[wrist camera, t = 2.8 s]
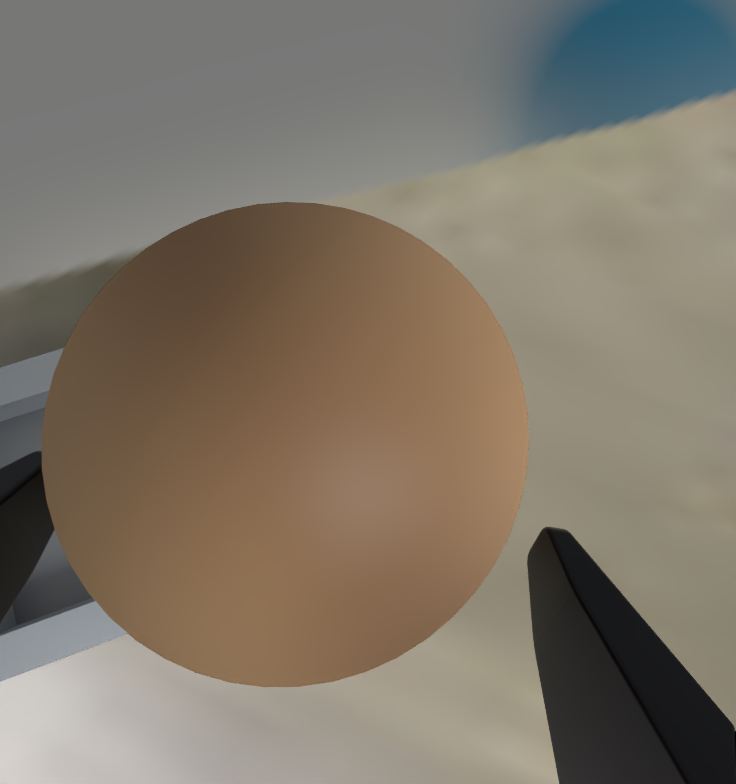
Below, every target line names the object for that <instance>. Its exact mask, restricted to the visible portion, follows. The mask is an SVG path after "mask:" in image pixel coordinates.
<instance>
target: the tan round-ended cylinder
mask: <svg viewBox="0 0 736 784" xmlns="http://www.w3.org/2000/svg"><path fill="white" fill-rule="evenodd" d="M528 450H529V433H528V412H527V407H526V401H525V395H524V389H523V383H522V380H521V377H520V374H519V370H518V367H517V364H516V361H515V357H514V354H513V352H512V350H511V348H510V345H509V343H508V341H507V339H506V337H505V334H504V332H503V330H502V328H501V326H500V324H499V323H498V321H497V320H496V318H495V316H494V315H493V313H492V311H491V310H490V308H489V306H488V305H487V303H486V302H485V301H484V299H483V298H482V297H481V296H480V294H479V293H478V292H477V291H476V289H475V288H474V287H473V286H472V284H471V283H470V282H469V281H468V279H467V278H466V277H464V276H463V275H462V274H461V273H460V272H459V271H458V270H457V269H456V268H455V267H454V266H453V265H452V264H451V263H450V262H449V261H448V260H447V259H446V258H444V257H443V256H442V255H440V254H439V253H438V252H436V251H435V250H434V249H432V248H431V247H430V246H429V245H427V244H426V243H425V242H423V241H421V240H420V239H418V238H416V237H414V236H413V235H411V234H409V233H407V232H406V231H404V230H402V229H401V228H399V227H397V226H394V225H392V224H389V223H387V222H385V221H382V220H380V219H378V218H375V217H373V216H370V215H367V214H363V213H360V212H356V211H353V210H349V209H346V208H341V207H335V206H329V205H323V204H316V203H295V202H282V203H269V204H257V205H252V206H247V207H242V208H237V209H232V210H227V211H224V212H221V213H219V214H215V215H212V216H209V217H206V218H203V219H200V220H198V221H195V222H193V223H191V224H189V225H187V226H185V227H183V228H180V229H178V230H177V231H174V232H172V233H170V234H169V235H167V236H166V237H164V238H162V239H161V240H159V241H158V242H156V243H154V244H153V245H151V246H150V247H148V248H146V249H145V250H144V251H143V252H141V253H140V254H139V255H138V256H136V257H135V258H134V259H133V260H131V261H130V262H129V263H128V264H127V265H125V266H124V267H123V268H122V269H121V270H120V271H119V272H118V273H117V274H116V275H115V276H114V277H113V278H112V279H111V280H110V281H109V282H108V283H107V284H106V285H105V286H104V287H103V288H102V289H101V290H100V292H99V293H98V294H97V296H96V297H95V298H94V300H93V301H92V302H91V304H90V305H89V306H88V308H87V309H86V311H85V312H84V313H83V315H82V316H81V318H80V319H79V321H78V323H77V325H76V326H75V328H74V330H73V332H72V334H71V335H70V337H69V339H68V341H67V342H66V344H65V347H64V349H63V352H62V354H61V357H60V359H59V361H58V364H57V366H56V369H55V371H54V374H53V378H52V382H51V386H50V389H49V393H48V397H47V401H46V405H45V413H44V421H43V429H42V474H43V480H44V487H45V494H46V501H47V505H48V508H49V511H50V515H51V518H52V522H53V525H54V528H55V532H56V535H57V537H58V539H59V541H60V543H61V546H62V548H63V550H64V552H65V554H66V557H67V559H68V561H69V563H70V565H71V567H72V568H73V570H74V571H75V573H76V574H77V576H78V578H79V579H80V581H81V582H82V584H83V585H84V587H85V588H86V590H87V592H88V593H89V594H90V595H91V596H92V598H93V599H94V600H95V601H96V602H97V603H98V604H99V606H100V607H101V608H102V609H103V610H104V611H105V613H106V614H107V615H108V616H109V617H110V618H111V619H112V620H113V621H114V622H115V623H117V624H118V625H119V626H120V627H121V628H122V629H124V630H125V631H126V632H127V633H128V634H129V635H130V636H132V637H133V638H134V639H135V640H136V641H138V642H139V643H141V644H143V645H144V646H146V647H147V648H149V649H151V650H152V651H154V652H155V653H157V654H158V655H160V656H162V657H163V658H165V659H167V660H169V661H171V662H173V663H176V664H178V665H180V666H182V667H185V668H187V669H189V670H191V671H194V672H196V673H199V674H202V675H206V676H209V677H213V678H216V679H220V680H223V681H227V682H231V683H239V684H246V685H254V686H261V687H299V686H306V685H313V684H319V683H326V682H333V681H336V680H340V679H343V678H346V677H350V676H353V675H356V674H360V673H363V672H366V671H369V670H371V669H373V668H375V667H377V666H380V665H382V664H384V663H386V662H388V661H391V660H393V659H395V658H397V657H399V656H400V655H402V654H404V653H405V652H407V651H408V650H410V649H412V648H413V647H415V646H416V645H418V644H419V643H421V642H423V641H424V640H426V639H427V638H428V637H430V636H431V635H432V634H433V633H434V632H436V631H437V630H438V629H439V628H440V627H441V626H443V625H444V624H445V623H446V622H447V621H449V620H450V619H451V618H452V617H453V616H454V615H455V614H456V613H457V612H458V611H459V610H460V608H461V607H462V606H463V605H464V604H465V603H466V602H467V601H468V600H469V599H470V597H471V596H472V595H473V594H474V593H475V592H476V590H477V589H478V587H479V586H480V585H481V583H482V582H483V580H484V579H485V577H486V576H487V575H488V573H489V572H490V570H491V569H492V567H493V566H494V564H495V562H496V560H497V558H498V556H499V554H500V552H501V550H502V549H503V547H504V545H505V543H506V541H507V539H508V537H509V534H510V531H511V529H512V526H513V523H514V520H515V518H516V515H517V512H518V509H519V506H520V502H521V497H522V493H523V488H524V484H525V479H526V473H527V461H528Z"/></svg>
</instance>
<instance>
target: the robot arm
mask: <svg viewBox="0 0 736 784" xmlns="http://www.w3.org/2000/svg"><path fill="white" fill-rule="evenodd" d="M54 530H55V528H54V525H53V522H52V518H51V515H50V511H49V508H48V505H47V501H46V494H45V487H44V480H43V474H42V451H41V450H40V451H34V452H32V453H30V454H28V455H26V456H24V457H22V458H20V459H18V460H16V461H14V462H12V463H10V464H8V465H6V466H4V467H2V468H0V624H1V622H2V620H3V619H4V617H5V616H6V614H7V613H8V611H9V609H10V608H11V606H12V605H13V603H14V602H15V600H16V598H17V597H18V595H19V594H20V592H21V591H22V589H23V587H24V586H25V584H26V583H27V581H28V579H29V578H30V576H31V574H32V573H33V571H34V569H35V567H36V565H37V563H38V562H39V560H40V558H41V556H42V554H43V552H44V550H45V548H46V546H47V544H48V542H49V540H50V538H51V536H52V534H53V532H54ZM527 566H528V579H529V592H530V605H531V618H532V631H533V640H534V648H535V654H536V660H537V666H538V671H539V676H540V682H541V687H542V693H543V698H544V703H545V709H546V714H547V720H548V725H549V730H550V736H551V741H552V746H553V752H554V757H555V763H556V768H557V773H558V779H559V784H736V731H735V728H734V725H733V724H732V723H731V722H730V721H729V719H728V718H727V717H726V716H725V715H724V713H723V712H722V711H721V710H720V709H719V708H718V706H717V705H716V704H715V703H714V702H713V701H712V699H711V698H710V697H709V696H708V695H707V693H706V692H705V691H704V690H703V689H702V688H701V686H700V685H699V684H698V683H697V682H696V680H695V679H694V678H693V677H692V676H691V675H690V673H689V672H688V671H687V670H686V669H685V668H684V666H683V665H682V664H681V663H680V662H679V660H678V659H677V658H676V657H675V656H674V655H673V653H672V652H671V651H670V650H669V649H668V647H667V646H666V645H665V644H664V643H663V642H662V640H661V639H660V638H659V637H658V636H657V635H656V633H655V632H654V631H653V630H652V629H651V627H650V626H649V625H648V624H647V623H646V622H645V620H644V619H643V618H642V617H641V616H640V614H639V613H638V612H637V611H636V610H635V609H634V607H633V606H632V605H631V604H630V603H629V602H628V600H627V599H626V598H625V597H624V596H623V594H622V593H621V592H620V591H619V590H618V589H617V587H616V586H615V585H614V584H613V583H612V582H611V580H610V579H609V578H608V577H607V576H606V574H605V573H604V572H603V571H602V570H601V569H600V567H599V566H598V565H597V564H596V563H595V561H594V560H593V559H592V558H591V557H590V556H589V554H588V553H587V552H586V551H585V550H584V549H583V547H582V546H581V545H580V544H579V543H578V541H577V540H576V539H575V538H574V537H573V536H572V534H571V533H570V532H568V531H567V530H565V529H560V528H553V527H545V528H543V529H542V531H541V532H540V534H539V536H538V537H537V539H536V541H535V542H534V544H533V546H532V548H531V549H530V551H529V554H528V560H527Z"/></svg>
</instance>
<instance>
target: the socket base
mask: <svg viewBox="0 0 736 784" xmlns="http://www.w3.org/2000/svg"><path fill="white" fill-rule="evenodd" d="M63 349H64V348H61V349H58V350H55V351H51V352H48V353H45V354H42V355H39V356H35V357H32V358H29V359H26V360H22V361H19V362H16V363H13V364H9V365H6V366H3V367H0V468H2V467H4V466H6V465H8V464H10V463H12V462H14V461H16V460H18V459H20V458H22V457H24V456H26V455H28V454H30V453H32V452H34V451H40V450H41V451H42V429H43V421H44V413H45V405H46V401H47V397H48V393H49V389H50V386H51V382H52V378H53V374H54V371H55V369H56V366H57V364H58V361H59V359H60V357H61V354H62V352H63ZM125 634H128V633H127V632H126V631H125V630H124V629H122V628H121V627H120V626H119V625H118V624H117V623H115V622H114V621H113V620H112V619H111V618H110V617H109V616H108V615H107V614H106V613H105V611H104V610H103V609H102V608H101V607H100V606H99V604H98V603H97V602H96V601H95V600H94V599H93V598H92V596H91V595H90V594H89V593H88V592H87V590H86V588H85V587H84V585H83V584H82V582H81V581H80V579H79V578H78V576H77V574H76V573H75V571H74V570H73V568H72V567H71V565H70V563H69V561H68V559H67V557H66V554H65V552H64V550H63V548H62V546H61V543H60V541H59V539H58V537H57V535H56V532H55V530H54V532H53V534H52V536H51V538H50V540H49V542H48V544H47V546H46V548H45V550H44V552H43V554H42V556H41V558H40V560H39V562H38V563H37V565H36V567H35V569H34V571H33V573H32V574H31V576H30V578H29V579H28V581H27V583H26V584H25V586H24V587H23V589H22V591H21V592H20V594H19V595H18V597H17V598H16V600H15V602H14V603H13V605H12V606H11V608H10V609H9V611H8V613H7V614H6V616H5V617H4V619H3V620H2V622H1V624H0V681H3V680H6V679H8V678H11V677H14V676H16V675H19V674H22V673H24V672H27V671H30V670H32V669H35V668H38V667H40V666H43V665H46V664H48V663H51V662H54V661H56V660H59V659H62V658H64V657H67V656H70V655H72V654H75V653H78V652H80V651H83V650H86V649H88V648H91V647H94V646H96V645H99V644H102V643H104V642H107V641H110V640H112V639H115V638H117V637H120V636H123V635H125Z"/></svg>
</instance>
